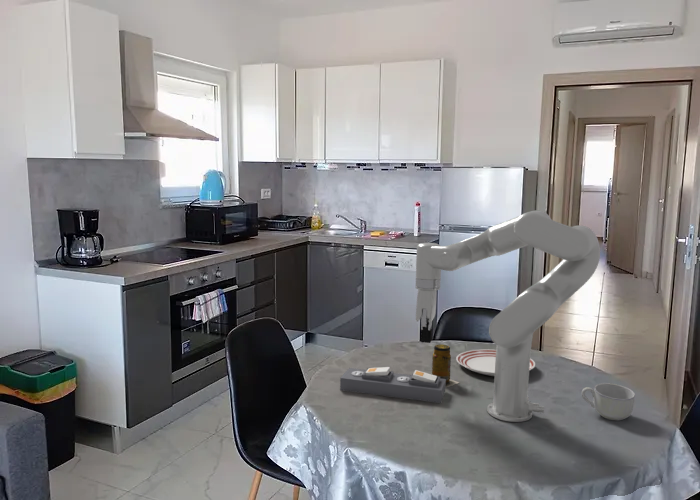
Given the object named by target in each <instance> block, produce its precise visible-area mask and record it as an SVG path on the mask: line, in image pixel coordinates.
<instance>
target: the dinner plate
mask: <svg viewBox="0 0 700 500" xmlns="http://www.w3.org/2000/svg"><path fill="white" fill-rule="evenodd" d="M455 360H456V363H458V364H459V365H461V366H462V367H464V368H466V369H468V370H469V371H472V372H475V373H477V374H481V375H484V376H488V377H495V360H496V349H490V348H489V349H487V348H486V349H485V348H484V349H483V348H482V349H471V350H467V351H463V352H461V353H458V355H456V358H455ZM535 367H536V362H535V360H534V359H532V358H531V357H530V368H529V372H530V371H532V370H533V369H535Z"/></svg>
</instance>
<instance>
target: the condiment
mask: <svg viewBox="0 0 700 500" xmlns="http://www.w3.org/2000/svg"><path fill="white" fill-rule="evenodd" d="M451 360H452V355H451V347H450V346H449V345H447V344H443V343H442V344H435V345H434V347H433V354H432V363H431V374H432V375H435V376H437V377H440V378H441V379H446V388H448V387H451V386H455V385H457V384H459V383H460V382H459V381H456V380H453V379H451V362H452V361H451Z"/></svg>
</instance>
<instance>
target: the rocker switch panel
mask: <svg viewBox="0 0 700 500" xmlns="http://www.w3.org/2000/svg"><path fill="white" fill-rule="evenodd" d="M368 369H369V368H366V369H363V368H362V369H361V368H355V367H349V368H348V369H346V371H345V372H344V373H343V375H341V377H339V378H340V379H339V381H340V383H339V384H340V385H339V388H340V389H339V390H340V391H344V392H353V393H360V394H361V393H362V394H367V395H376V396H384V397H391V398H392V397H393V398H398V399H406V400H413V401H424V402H429V403H436V404H437V403H438V404H442V402H443V398H444V396H445V393H446V388H447V387H446V379H441V378H440V377H437V379H436V381H435V383H432V382H424V381H420V380H417V379H414V378H412V376H413V373H412V374H406V373H397V372H396V373H395V371H392V370H390V372H389V373H388V375H381V376H373V375H366V371H367V370H368Z"/></svg>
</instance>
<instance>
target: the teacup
mask: <svg viewBox="0 0 700 500" xmlns="http://www.w3.org/2000/svg"><path fill="white" fill-rule="evenodd" d="M587 392H590V393H591V394H592V398H593V400H591V399H589V398H588V397H587V396H586V393H587ZM581 397H582V399H583V400H584V401H585V402H586V403H587V404H589V405H590V407H592V408H593V409H595V411H596V412H597V413H598V414H599V415H600V416H601V417H603V418H604V419H607V420H610V421H622V420H625V419H627V418H629V417H630V416H631V415H632V413H633V409H634V405H635V397H636V393H635V391H633V389H630V388H629V387H627V386H624V385H620V384H618V383H617V384H616V383H612V382H611V383H609V382H601V383H598V384H596V385H595V386H594V388H592V387H588V386H587V387H586V386H585V387H584V388H582V390H581Z"/></svg>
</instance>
